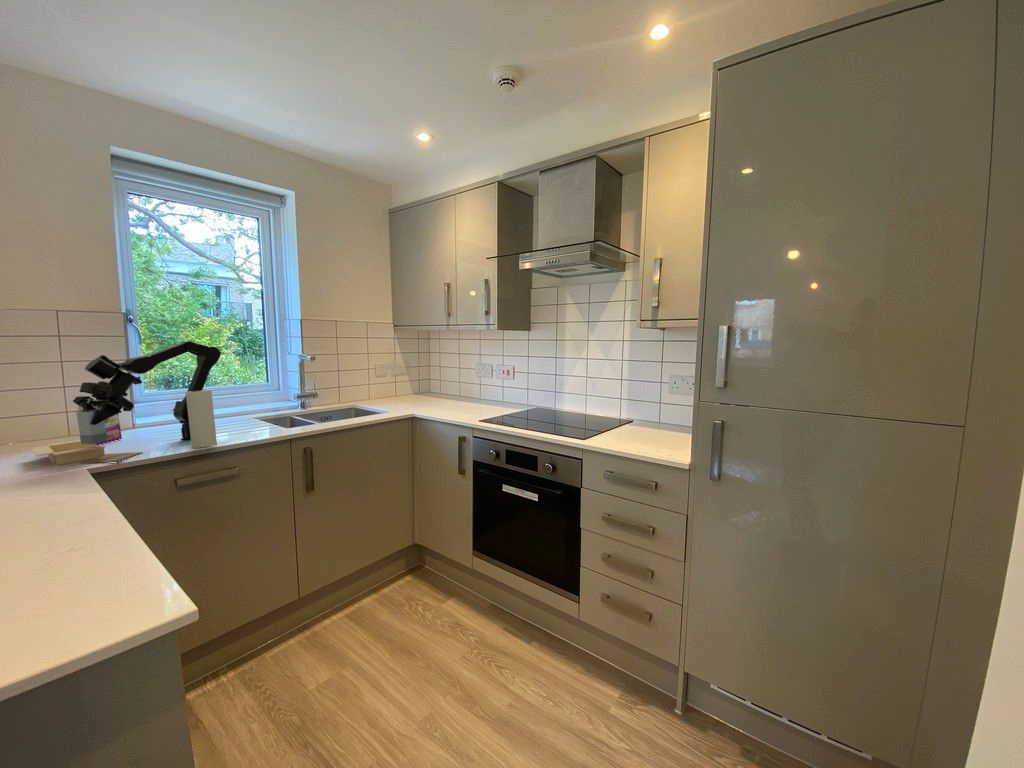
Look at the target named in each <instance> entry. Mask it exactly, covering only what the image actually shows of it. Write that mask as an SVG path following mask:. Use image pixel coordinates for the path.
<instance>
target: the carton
mask: <svg viewBox="0 0 1024 768" xmlns="http://www.w3.org/2000/svg"><path fill="white" fill-rule="evenodd" d="M105 448H106V445H105V444H101V445H97V446H96V444H81V440H80V439H76V440H68V441H61V442H60V441H59V442H54V443H49V444H45V445H44V446H38V447H32V448H31V451H32V452H33V453H34V455H35V456H36V457H43V456H47V457H48V459H49V460H50V461H51V463H52V464H53V466H58V465H64V464H70V463H75V462H81V461H82V462H83V461H88V460H91V459H93V458H97V457H100V456H104V455H106V454H105Z"/></svg>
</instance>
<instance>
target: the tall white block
mask: <svg viewBox="0 0 1024 768" xmlns="http://www.w3.org/2000/svg"><path fill="white" fill-rule="evenodd" d="M212 393H213V392H212V390H204V389H203V390H193V391H188V390H187V391H185V396H186V399H187V409H188V418H189V427H190V436H191V440H190V444H191V448H192V447H193V449H200V447H201V448H207V447H211V446H212V445H213V446H217V445H218V441H217V431H216V424H215V423H216V421H215V413H214V412H215V411H214V401H213V394H212Z"/></svg>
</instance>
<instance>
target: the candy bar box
mask: <svg viewBox="0 0 1024 768" xmlns="http://www.w3.org/2000/svg"><path fill="white" fill-rule="evenodd" d="M99 409H101V407H100V408H99ZM77 410H78V411H77V412H79V411H83V408H82V407H81V406H79V405H77ZM104 423H105V429H106V433H107V440H108V441H104V442H100V443H96V445H97V446H100V445H99V444H101V445H104V444H103V443H105V444H108V443H107V442H109V443H112V442H111V441H115V440H119V439H122V440H123V438H122V431H121V424H120V419H119V413H118V414H116V415H114V416H112V417H110V418H108V419H106V420H104ZM119 441H120V440H119ZM115 442H116V441H115Z"/></svg>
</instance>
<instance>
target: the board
mask: <svg viewBox="0 0 1024 768" xmlns="http://www.w3.org/2000/svg"><path fill="white" fill-rule="evenodd" d="M139 454H140V455H142V454H143V451H139V452H138V451H137V452H136V451H135V452H119V453H117V452H116V453H115V452H114V453H106V454H105V455H104V456H100V457H97V458H94V459H88V460H84V461H82V462H80V465H94V464H95V465H96V464H105V463H106V462H119V461H122V460H125V459H126V460H127V459H128V458H129V459H131V458H134V457H137V456H139ZM136 455H137V456H136ZM133 456H134V457H133ZM130 457H131V458H130Z"/></svg>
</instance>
